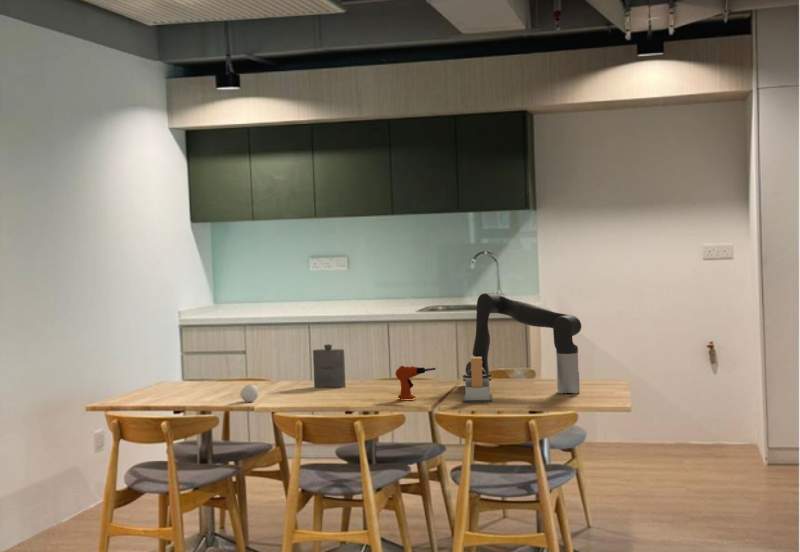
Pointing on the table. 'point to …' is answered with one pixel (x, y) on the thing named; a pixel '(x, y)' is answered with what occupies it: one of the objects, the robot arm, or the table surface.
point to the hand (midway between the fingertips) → (477, 380)
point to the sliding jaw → (469, 382)
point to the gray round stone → (249, 393)
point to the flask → (329, 367)
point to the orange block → (476, 371)
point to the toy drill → (406, 383)
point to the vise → (477, 394)
